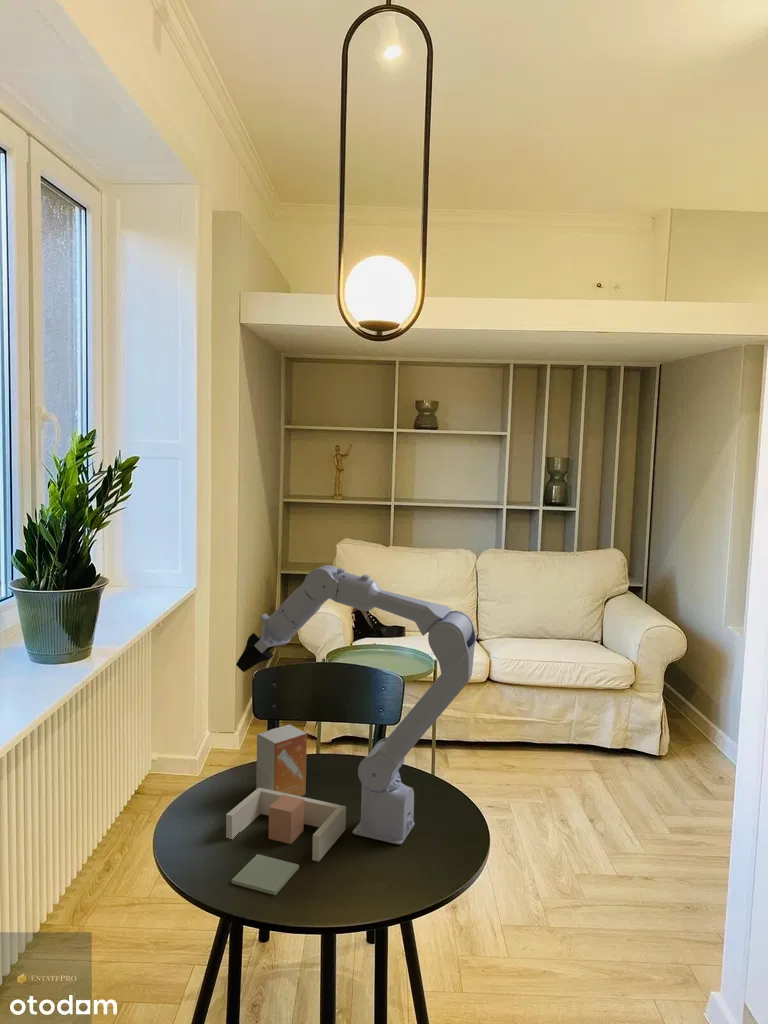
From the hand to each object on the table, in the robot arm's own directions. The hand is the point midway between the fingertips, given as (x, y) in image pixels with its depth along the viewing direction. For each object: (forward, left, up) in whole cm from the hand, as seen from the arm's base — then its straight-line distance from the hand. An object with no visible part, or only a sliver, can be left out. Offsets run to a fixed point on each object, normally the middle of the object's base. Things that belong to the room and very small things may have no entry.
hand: (248, 660), depth 140 cm
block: (-12, +7, -29) cm, 32 cm away
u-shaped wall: (-12, +7, -29) cm, 32 cm away
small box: (-4, -6, -29) cm, 30 cm away
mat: (-15, +19, -29) cm, 38 cm away
